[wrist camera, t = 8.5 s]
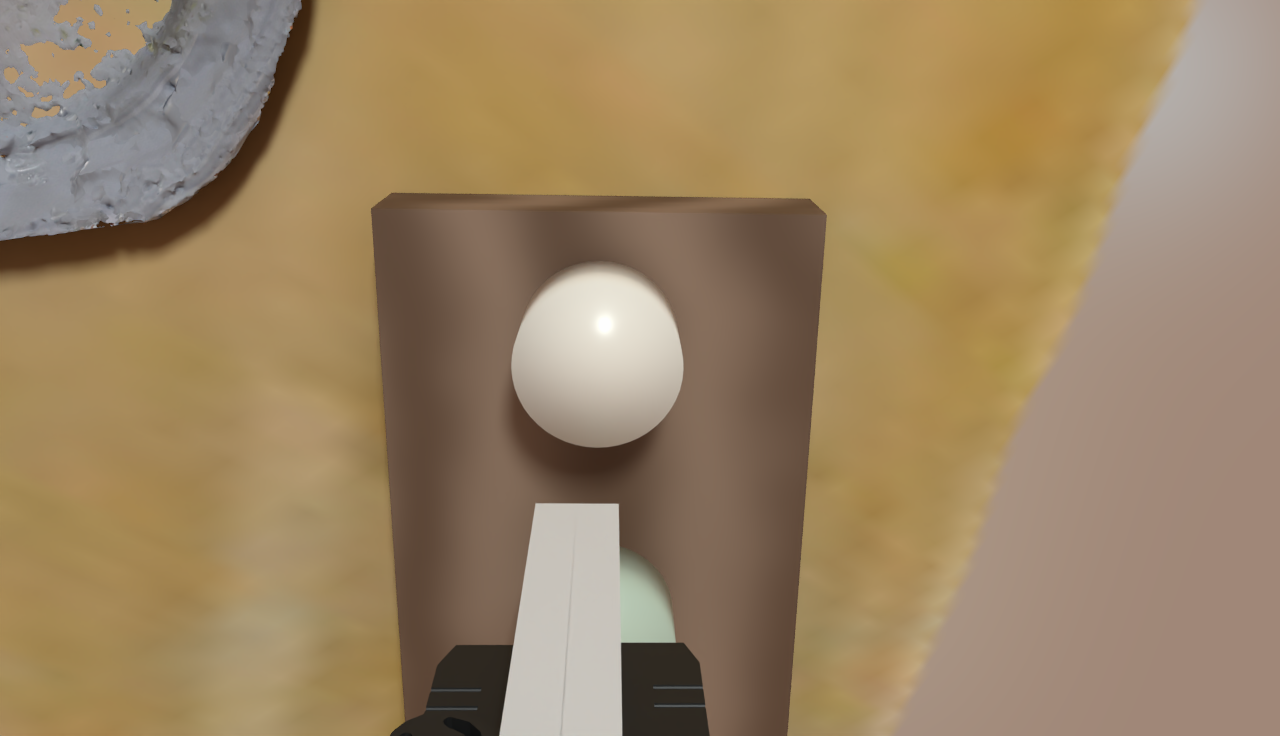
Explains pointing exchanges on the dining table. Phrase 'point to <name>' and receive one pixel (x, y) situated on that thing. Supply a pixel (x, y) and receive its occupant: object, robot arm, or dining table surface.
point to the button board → (624, 474)
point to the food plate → (132, 112)
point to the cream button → (598, 355)
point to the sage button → (644, 601)
